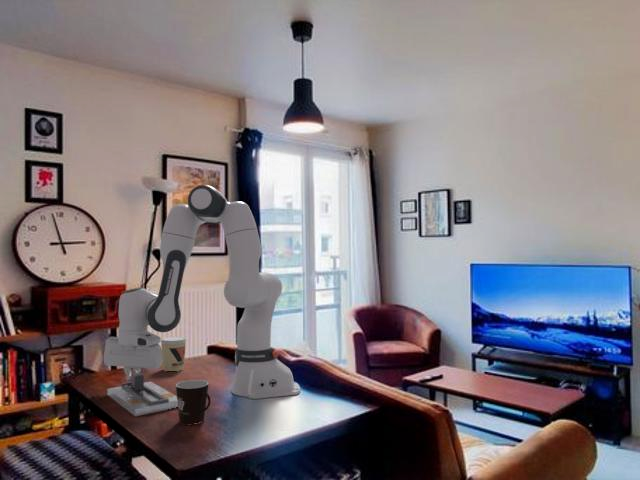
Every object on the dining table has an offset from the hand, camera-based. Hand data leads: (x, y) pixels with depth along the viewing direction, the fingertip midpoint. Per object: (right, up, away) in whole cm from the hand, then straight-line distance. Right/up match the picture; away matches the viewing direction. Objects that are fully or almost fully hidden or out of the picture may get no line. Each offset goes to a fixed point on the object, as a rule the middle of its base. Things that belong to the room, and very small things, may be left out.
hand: (132, 380), depth 160 cm
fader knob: (+3, -1, -4) cm, 5 cm away
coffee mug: (+27, -4, -28) cm, 39 cm away
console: (+7, -4, -9) cm, 12 cm away
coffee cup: (+4, -5, +31) cm, 32 cm away
